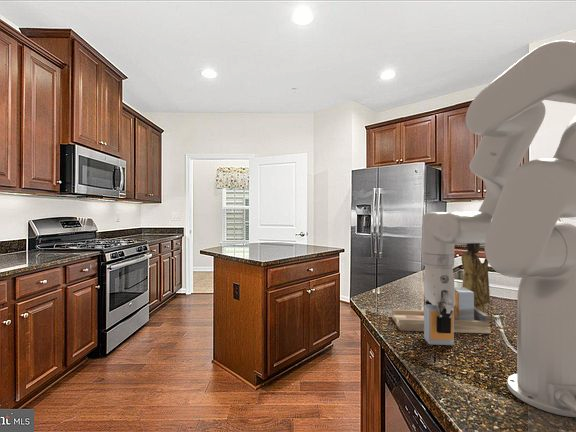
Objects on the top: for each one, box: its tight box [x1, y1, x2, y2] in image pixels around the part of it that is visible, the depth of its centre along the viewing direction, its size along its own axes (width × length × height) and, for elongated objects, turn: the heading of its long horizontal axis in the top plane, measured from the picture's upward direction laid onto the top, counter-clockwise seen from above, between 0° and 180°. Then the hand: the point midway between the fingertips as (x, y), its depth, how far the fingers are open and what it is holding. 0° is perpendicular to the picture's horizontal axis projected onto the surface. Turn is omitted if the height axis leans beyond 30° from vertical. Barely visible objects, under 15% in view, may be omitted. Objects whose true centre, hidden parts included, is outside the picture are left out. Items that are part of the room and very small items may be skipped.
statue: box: [460, 243, 491, 315], centre depth 106 cm, size 9×9×25 cm
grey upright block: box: [423, 303, 455, 346], centre depth 83 cm, size 6×5×9 cm
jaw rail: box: [391, 286, 492, 334], centre depth 95 cm, size 12×24×10 cm, turn 83°
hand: (436, 325), depth 84 cm, fingers open, 9 cm apart
